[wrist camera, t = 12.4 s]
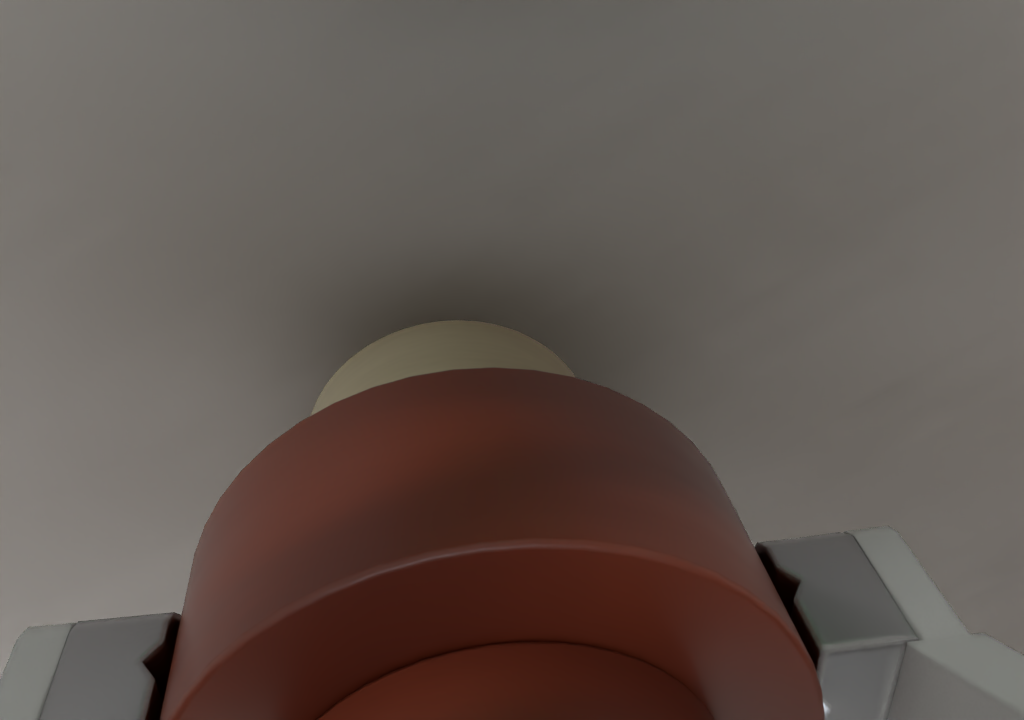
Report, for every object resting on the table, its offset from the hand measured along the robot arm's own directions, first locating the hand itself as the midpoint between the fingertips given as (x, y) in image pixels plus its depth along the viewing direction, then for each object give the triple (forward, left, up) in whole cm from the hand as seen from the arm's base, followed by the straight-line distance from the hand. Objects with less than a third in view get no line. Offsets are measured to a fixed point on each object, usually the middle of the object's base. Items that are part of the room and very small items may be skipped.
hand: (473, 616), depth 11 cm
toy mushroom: (0, 0, -4) cm, 4 cm away
